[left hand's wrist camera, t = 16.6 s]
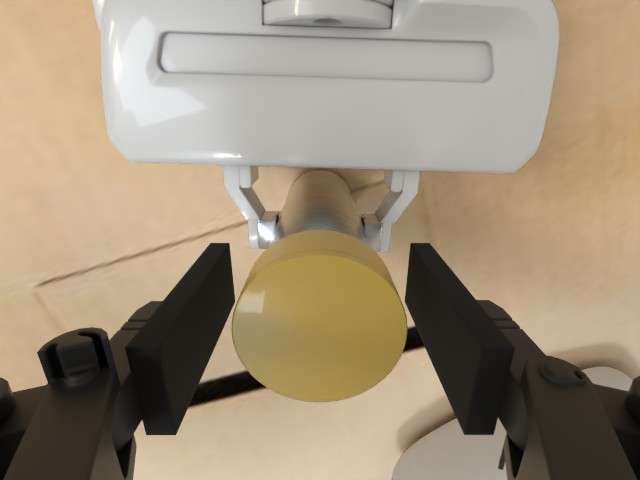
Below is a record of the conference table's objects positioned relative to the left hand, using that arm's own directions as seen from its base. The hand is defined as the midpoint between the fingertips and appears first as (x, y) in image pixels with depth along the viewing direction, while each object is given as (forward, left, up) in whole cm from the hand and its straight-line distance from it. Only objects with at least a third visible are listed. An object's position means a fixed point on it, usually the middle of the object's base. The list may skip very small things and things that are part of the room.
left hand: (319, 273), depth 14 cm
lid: (0, 0, +4) cm, 4 cm away
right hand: (-1, 0, -5) cm, 5 cm away
